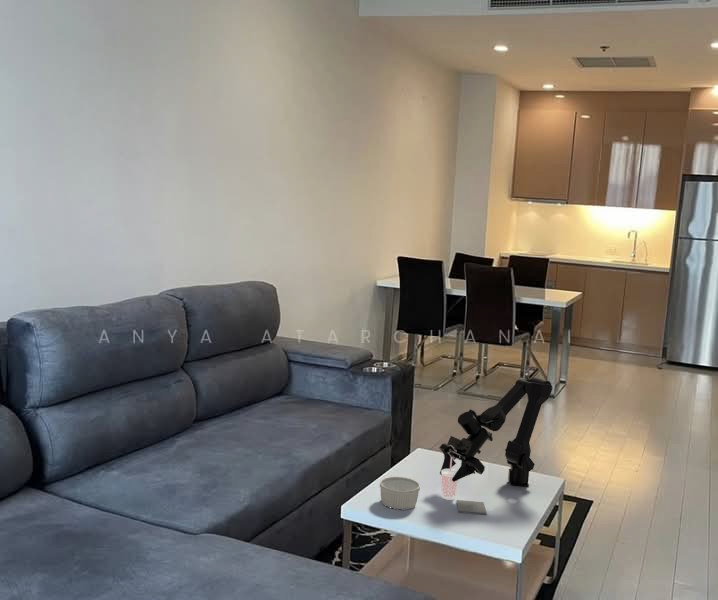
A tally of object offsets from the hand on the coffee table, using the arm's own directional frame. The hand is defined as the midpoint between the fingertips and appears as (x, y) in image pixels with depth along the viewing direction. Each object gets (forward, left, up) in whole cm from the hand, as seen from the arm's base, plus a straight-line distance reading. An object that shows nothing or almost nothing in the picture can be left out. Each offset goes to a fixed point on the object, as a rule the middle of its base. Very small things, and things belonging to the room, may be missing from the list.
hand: (446, 477), depth 249 cm
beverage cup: (-1, -1, -7) cm, 7 cm away
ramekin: (+16, +8, -7) cm, 19 cm away
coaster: (-8, +7, -7) cm, 13 cm away
